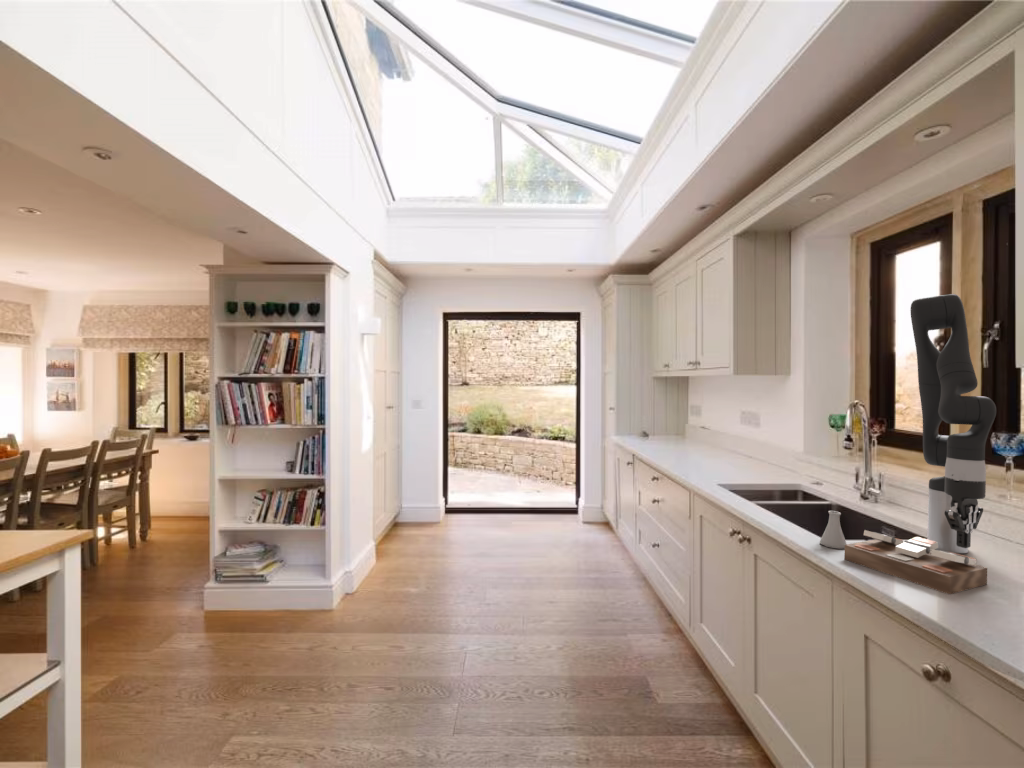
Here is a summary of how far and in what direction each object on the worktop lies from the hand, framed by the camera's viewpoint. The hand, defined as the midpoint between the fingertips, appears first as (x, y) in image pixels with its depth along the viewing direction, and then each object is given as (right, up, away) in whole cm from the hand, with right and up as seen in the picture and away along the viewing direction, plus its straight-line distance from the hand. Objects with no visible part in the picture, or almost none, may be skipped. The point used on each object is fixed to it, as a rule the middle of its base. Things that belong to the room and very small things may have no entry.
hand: (963, 546), depth 125 cm
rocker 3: (-3, -2, -1) cm, 4 cm away
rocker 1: (-10, -2, +14) cm, 17 cm away
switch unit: (-8, -8, +6) cm, 13 cm away
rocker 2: (-6, -2, +6) cm, 9 cm away
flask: (-16, -8, +25) cm, 31 cm away
